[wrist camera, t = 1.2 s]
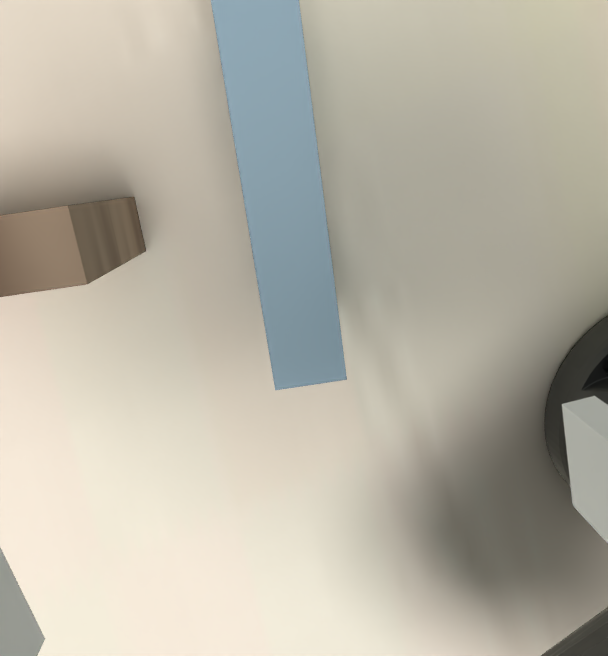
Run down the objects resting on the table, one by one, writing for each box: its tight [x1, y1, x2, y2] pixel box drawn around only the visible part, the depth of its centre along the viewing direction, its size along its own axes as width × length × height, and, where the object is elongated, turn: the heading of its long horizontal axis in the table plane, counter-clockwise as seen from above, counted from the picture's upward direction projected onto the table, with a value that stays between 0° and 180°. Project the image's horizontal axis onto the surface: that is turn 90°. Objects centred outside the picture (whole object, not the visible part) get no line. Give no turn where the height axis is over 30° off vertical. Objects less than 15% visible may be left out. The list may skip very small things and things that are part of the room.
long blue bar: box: [211, 0, 347, 390], centre depth 25 cm, size 3×16×10 cm, turn 8°
